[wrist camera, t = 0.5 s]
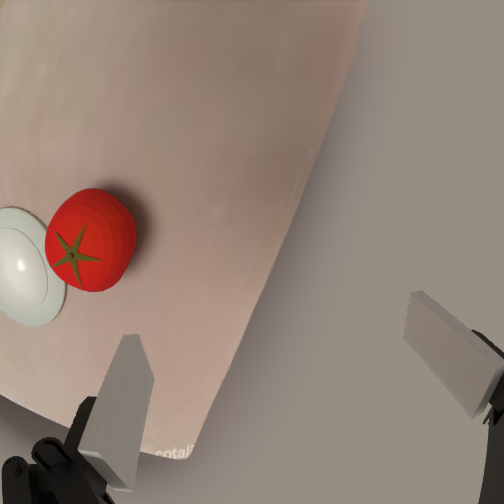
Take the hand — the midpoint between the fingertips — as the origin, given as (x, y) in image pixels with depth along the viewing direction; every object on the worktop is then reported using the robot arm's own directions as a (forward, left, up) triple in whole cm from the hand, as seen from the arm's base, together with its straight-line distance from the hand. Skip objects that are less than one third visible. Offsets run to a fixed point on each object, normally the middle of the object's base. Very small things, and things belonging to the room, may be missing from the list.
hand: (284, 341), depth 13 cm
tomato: (-1, -19, -27) cm, 33 cm away
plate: (+3, -37, -27) cm, 45 cm away
